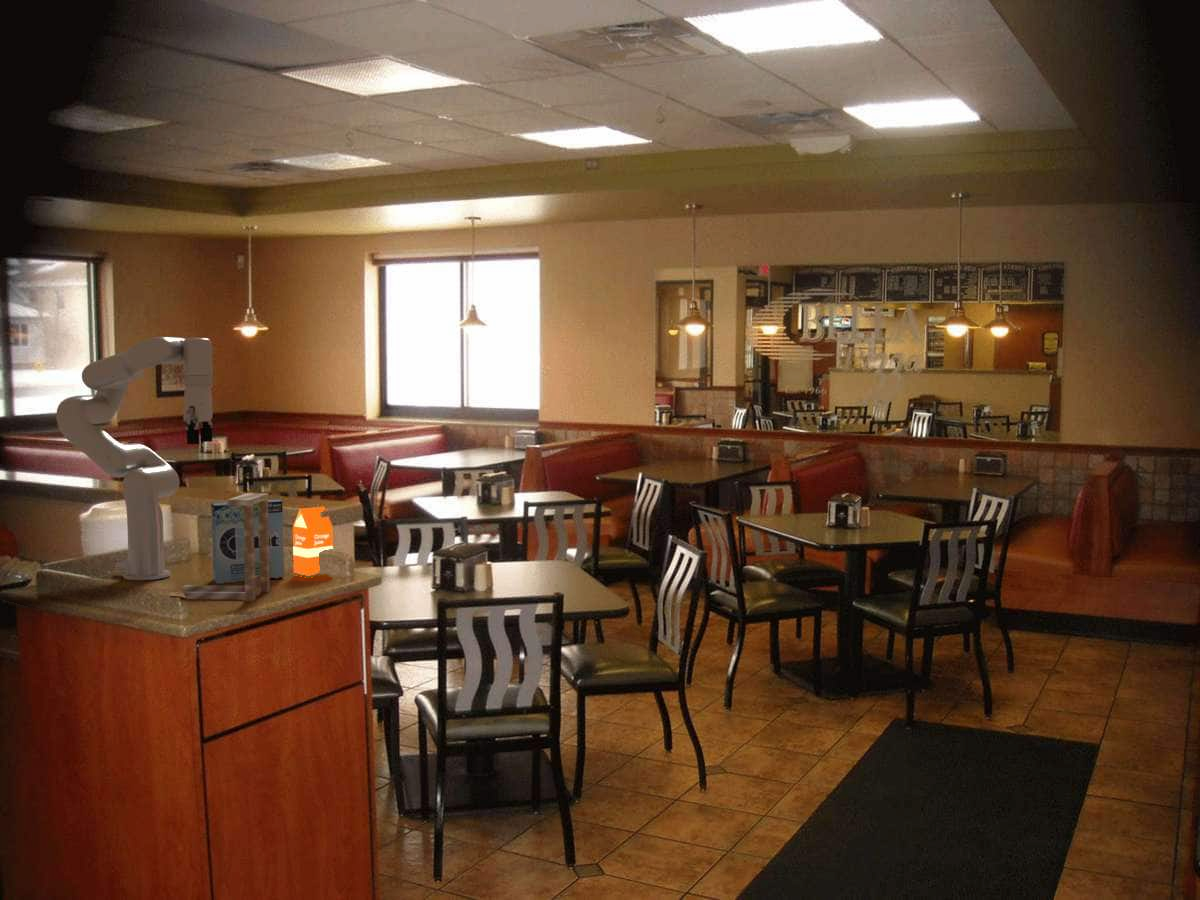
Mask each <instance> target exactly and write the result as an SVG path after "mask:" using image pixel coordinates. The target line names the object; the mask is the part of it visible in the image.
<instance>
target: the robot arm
mask: <svg viewBox="0 0 1200 900" xmlns="http://www.w3.org/2000/svg"><path fill="white" fill-rule="evenodd" d="M212 348H213V347H212V340H211V339H209V338H207V337H187V338H186V337H178V336H156V337H151V338H149V339H146V340H143V341H140V342H137V343H134V344H132V345H130V346H129V347H128V348H127V349H125V350H124V351H121V352H119V353H116V354H113V355H111V356H108V357H105V358H102V359H99V360H96V361H93V362H91V363H89V364H88V365H86V366H85V367H84V368H83V369H82V372H81V380H82V382H83V384H84V385H85V386H86V387H87V388H89V389H90V390H93V391H96V392H95V394H92V395H91V394H90V395H89V394H87V395H74V396H70V397H66V398H65V399H63V400H62V401H60V403H59V404H58V406H57V408H56V423H57V426H58V429H59V430H60V432H61V434H62V436H63V437H64V438H65V439H66V440H67V442H68V441H69V443H71V444H72V445H73V446H74V447H76V448H77V449H78V450H79V451H80V452H82V453H83V454H84V455H85V456H87V457H88V458H89V459H90V460H91V461H92V462H93V463H94V464H96V466H97V467H99V469H101V470H103V471H104V472H105V473H106V474H108V475H109V476H110V477H113V478H123V481H122V493H123V497H124V500H125V508H126V524H127V552H128V553H127V555H128V556H127V557H128V558H127V559H128V561H125V562H116V563H115V566H114V567H115V569H116V571H124V573H123V574H122V579H124V580H125V581H126V580H127V581H153V580H160V579H164V578H168V577H170V576H171V571H170V570H169V569H165V549H164V548H165V546H164V544H165V543H164V542H165V541H164V517H163V510H162V507H161V504H160V502H159V500H158V499H163V498H168V497H171V496H172V495H174V494H176V493H177V491H178V490H179V488H180V477H179V475H178V473H177V471H176V470H175V469H174V467H172V466H171V465H170V464H169V463H168V462H166V461H165V460H164V458H162V457H161V456H159V455H158V453H156V452H155V451H153V450H152V448H149V447H148V446H146V445H144V444H143V443H136V442H132V443H122V442H119V441H118V440H117V439H115V438H113V437H112V436H111V435H110V434H109V433H108V432H107V431H105V430H103V429H102V428H99V427H98V426H96V425H97V424H105V423H107V422H109V421H110V420H112V419H113V418H114V416H116V413H117V411H118V409H119V408H120V405H121V403H122V402H123V399H124V397H125V395H126V393H127V392H128V389H129V386H130V384H131V382H132V381H136V380H138V379H140V378H141V377H142V376H143V373H144V370H145V369H149V368H152V367H154V366H158V365H183V385H184V386H183V388H185V389H184V392H183V393H184V395H183V421H184V423H185V424H186V427H185V430H186V443H187V445H199V444H200V442H202V443H203V442H207V443H212V442H213V415H214V413H213V397H212V389H211V388H213V385H214V383H213V352H212V351H213V349H212ZM199 424H200V426H201V427H200V429H199Z"/></svg>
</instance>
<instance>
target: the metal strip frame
mask: <svg viewBox="0 0 1200 900" xmlns="http://www.w3.org/2000/svg"><path fill="white" fill-rule="evenodd" d="M269 494H270V493H268V492H267V493H266V492H265V493H263V492H262V493H257V492H256V493H254V492H252V493H251V492H247V493H243V494H241V495H237V496H234V497H232V498H231V497H230V498H228V499H226V500H227V501H226V503H227V505H230V506H243V517H244V562H245V581H244V585H182V587H181V588H182V590H181V592H182V593H184V594H185V596H186V598H187V599H186V600H230V601H231V600H235V601H236V600H241V601H243V600H244V602H254V601H256V597H258V596H260V595H261V593H269V592H270V591H271V579H270V567H269V519H268V500H270V498H269V497H270V495H269ZM256 503H259V550H260V576H255V556H254V510H253V504H256Z"/></svg>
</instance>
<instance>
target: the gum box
mask: <svg viewBox="0 0 1200 900" xmlns="http://www.w3.org/2000/svg"><path fill="white" fill-rule="evenodd" d="M283 504H284V503H283V500H281V499H279V498H278V499H268V519H269V567H270V578H275V579H280V578H279V577H285V574H286V573H285V545H284V544H285V543H284V540H285V539H284V508H283V506H284V505H283ZM210 508H211V532H212V535H211V537H212V559H213V560H212V566H213V569H212V570H213V573H212V574H213V582H214V581H215V582H216V584H225V583H224V582H233V583H236V582H235V581H244V582H245V562H244V517H243V506H230V505H227V502H212V503H211V507H210ZM253 510H254V556H255V576H260V550H259V503H256V504H253ZM285 578H286V577H285ZM215 582H214V583H215Z"/></svg>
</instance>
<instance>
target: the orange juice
mask: <svg viewBox="0 0 1200 900" xmlns="http://www.w3.org/2000/svg"><path fill="white" fill-rule="evenodd" d="M324 510H326V507H325V506H316V507H305V508H300V509H299V510H298V512H297V516H296V518H295V520H294V523H293V524H292V525H293V526H292V546H293V547H292V554H293V555H292V557H293V574H294V573H297V574H301V575H306V576H311V575H315V574H317V573H319V571H320V565H319V553H320V552H322V551H324V550H329V549H333V550H334V543H333V542H334V540H333V537H334V536H333V524H332V522H331V520H330V517H329V515H328V516H327V517H323V518H322V517H321V516H320V513H321V512H323V511H324ZM326 511H327V510H326Z"/></svg>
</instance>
